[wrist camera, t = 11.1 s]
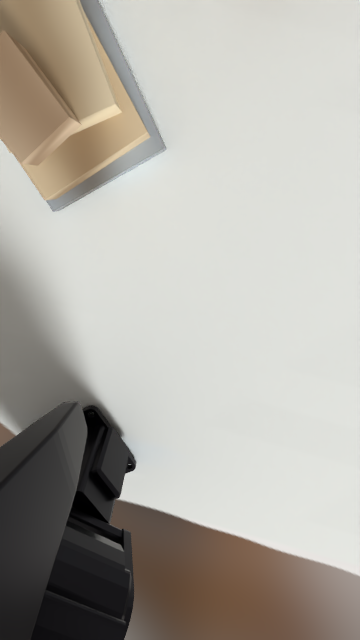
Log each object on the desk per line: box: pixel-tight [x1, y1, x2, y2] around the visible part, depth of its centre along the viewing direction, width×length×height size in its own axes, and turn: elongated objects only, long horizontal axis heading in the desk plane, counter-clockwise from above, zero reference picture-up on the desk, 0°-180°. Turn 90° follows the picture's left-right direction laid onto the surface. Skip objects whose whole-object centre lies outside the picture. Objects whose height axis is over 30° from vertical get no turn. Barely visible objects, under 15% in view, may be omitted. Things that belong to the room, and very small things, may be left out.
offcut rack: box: [0, 0, 167, 212], centre depth 14 cm, size 7×11×6 cm, turn 27°
